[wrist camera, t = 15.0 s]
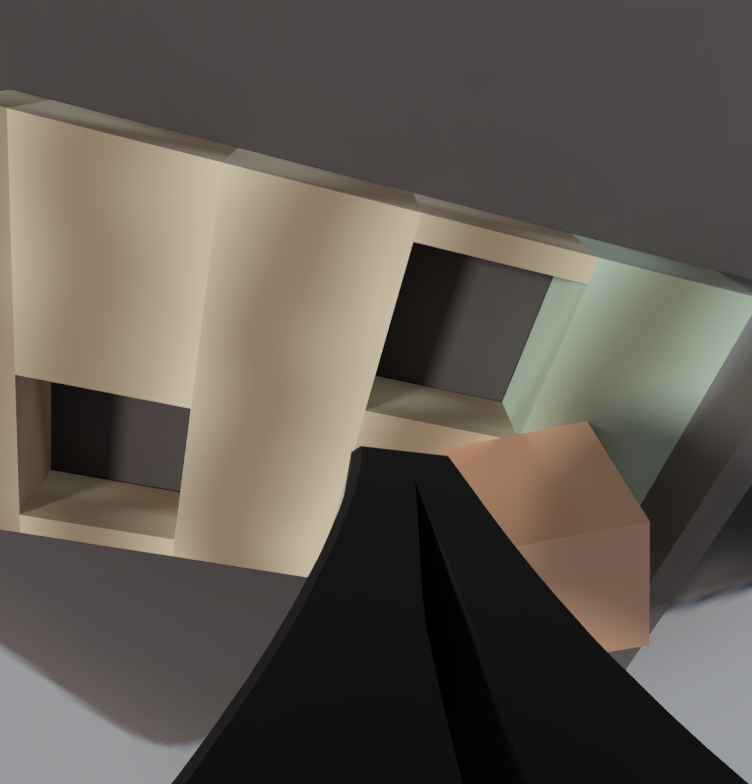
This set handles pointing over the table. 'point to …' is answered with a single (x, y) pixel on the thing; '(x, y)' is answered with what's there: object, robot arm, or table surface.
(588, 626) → the block
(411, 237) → the trap board
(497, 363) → the table surface
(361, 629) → the robot arm
